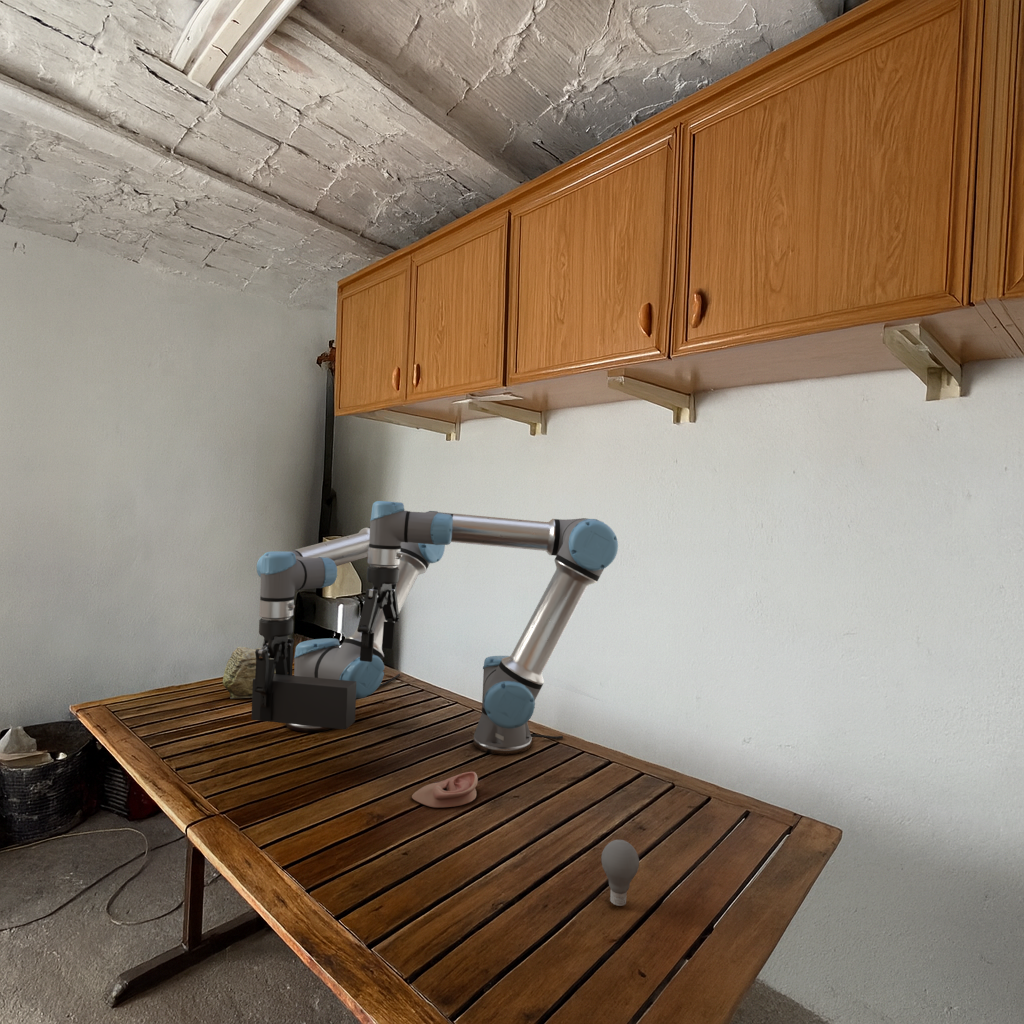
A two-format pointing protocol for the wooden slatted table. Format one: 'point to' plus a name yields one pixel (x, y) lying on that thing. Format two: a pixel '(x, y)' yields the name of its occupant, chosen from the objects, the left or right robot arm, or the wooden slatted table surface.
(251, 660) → the fossil
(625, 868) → the light bulb
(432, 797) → the anatomical model
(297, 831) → the wooden slatted table surface
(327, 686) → the bar
